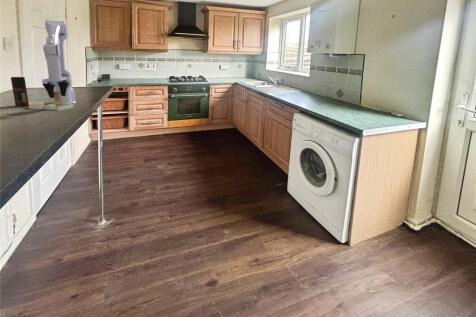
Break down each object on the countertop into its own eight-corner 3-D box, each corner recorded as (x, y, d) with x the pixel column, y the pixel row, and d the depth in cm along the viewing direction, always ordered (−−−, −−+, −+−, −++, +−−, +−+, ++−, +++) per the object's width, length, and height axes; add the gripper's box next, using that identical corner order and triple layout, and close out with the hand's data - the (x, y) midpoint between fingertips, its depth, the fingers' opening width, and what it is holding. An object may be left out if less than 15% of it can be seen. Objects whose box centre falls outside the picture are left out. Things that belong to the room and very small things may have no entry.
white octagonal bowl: (37, 107, 170) (36, 101, 169) (47, 108, 169) (46, 102, 168) (26, 109, 164) (25, 103, 163) (36, 110, 163) (36, 104, 162)
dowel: (58, 106, 170) (56, 91, 168) (63, 107, 170) (61, 91, 167) (54, 107, 168) (52, 92, 165) (59, 108, 167) (57, 92, 164)
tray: (60, 106, 175) (59, 102, 174) (74, 108, 173) (73, 104, 172) (43, 109, 165) (42, 105, 164) (58, 111, 163) (57, 107, 162)
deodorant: (22, 108, 167) (17, 78, 162) (12, 107, 168) (7, 77, 163) (31, 106, 172) (27, 77, 168) (22, 105, 173) (17, 76, 169)
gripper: (49, 70, 155) (52, 99, 159) (71, 69, 168) (74, 95, 173) (37, 69, 157) (41, 98, 161) (60, 68, 170) (63, 94, 174)
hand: (57, 96), depth 167 cm, fingers open, 7 cm apart
